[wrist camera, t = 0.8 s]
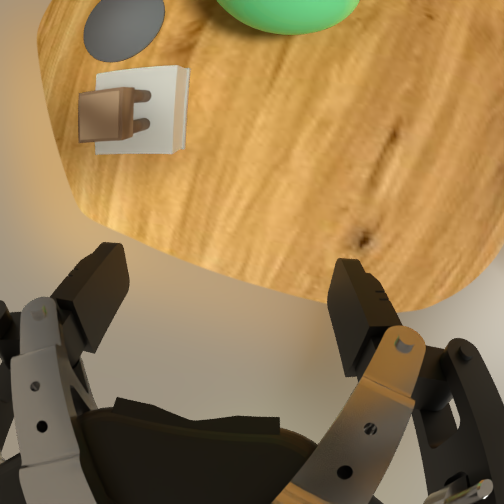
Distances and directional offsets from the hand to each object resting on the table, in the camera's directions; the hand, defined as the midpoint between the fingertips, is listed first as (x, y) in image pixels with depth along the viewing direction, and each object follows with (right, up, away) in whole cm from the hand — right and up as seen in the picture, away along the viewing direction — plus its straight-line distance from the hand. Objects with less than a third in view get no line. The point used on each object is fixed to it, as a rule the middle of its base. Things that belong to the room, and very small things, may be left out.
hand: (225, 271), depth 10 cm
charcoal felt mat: (-16, +30, +14) cm, 37 cm away
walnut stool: (-12, +16, +16) cm, 26 cm away
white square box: (-12, +19, +20) cm, 30 cm away
